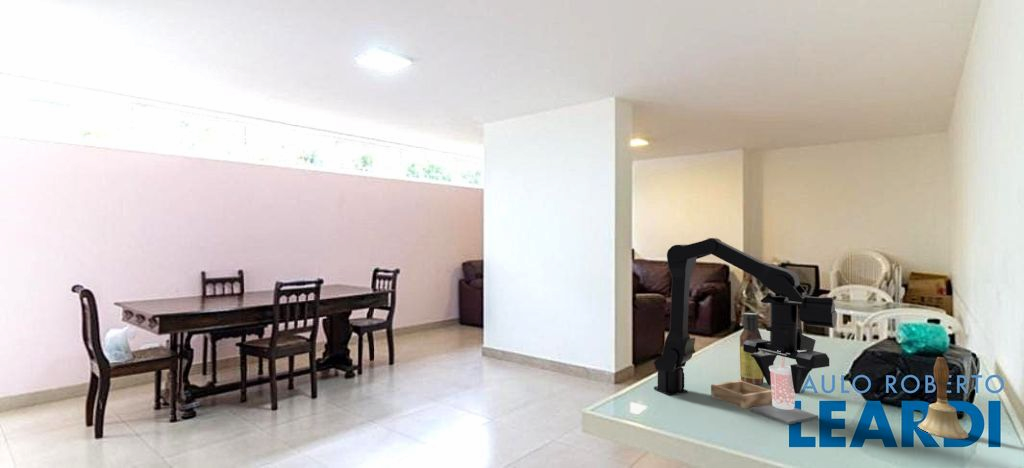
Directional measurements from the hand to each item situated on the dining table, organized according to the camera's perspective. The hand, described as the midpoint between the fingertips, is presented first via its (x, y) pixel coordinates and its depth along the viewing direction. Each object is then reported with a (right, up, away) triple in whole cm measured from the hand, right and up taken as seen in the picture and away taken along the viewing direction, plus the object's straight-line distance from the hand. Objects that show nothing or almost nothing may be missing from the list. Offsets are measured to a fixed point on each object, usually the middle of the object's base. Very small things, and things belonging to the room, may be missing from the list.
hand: (783, 389), depth 119 cm
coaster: (0, -6, 0) cm, 6 cm away
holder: (-5, -6, +11) cm, 13 cm away
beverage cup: (0, -4, 0) cm, 4 cm away
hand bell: (+29, -6, -10) cm, 31 cm away
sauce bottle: (+5, -6, +26) cm, 27 cm away
